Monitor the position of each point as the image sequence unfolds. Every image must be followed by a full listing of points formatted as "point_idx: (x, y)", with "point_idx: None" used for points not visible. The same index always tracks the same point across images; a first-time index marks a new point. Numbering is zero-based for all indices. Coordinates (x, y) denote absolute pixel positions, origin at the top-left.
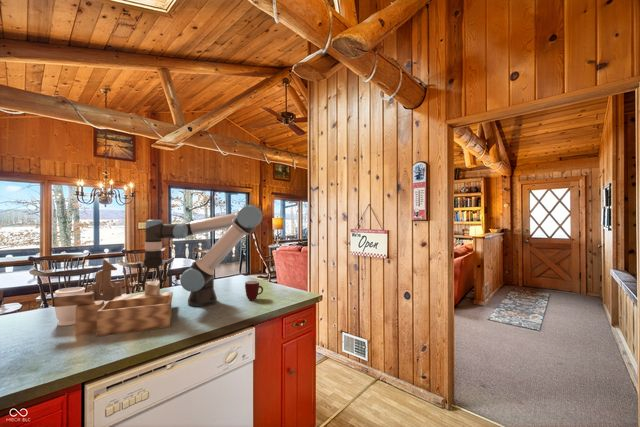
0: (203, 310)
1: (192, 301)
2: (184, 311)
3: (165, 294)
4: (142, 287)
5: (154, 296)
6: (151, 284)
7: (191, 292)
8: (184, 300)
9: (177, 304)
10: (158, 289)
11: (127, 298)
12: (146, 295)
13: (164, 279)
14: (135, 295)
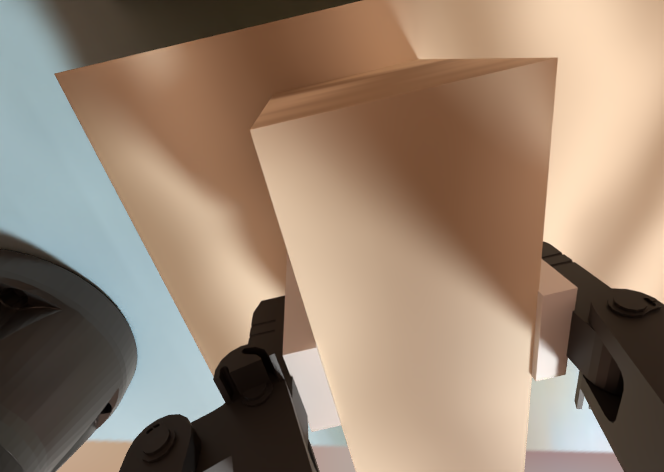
0: None
1: (21, 287)
2: (40, 124)
3: None
4: (568, 258)
5: (304, 88)
6: (434, 268)
7: (13, 388)
8: (200, 397)
9: None
10: None
11: (624, 210)
12: (428, 62)
13: (162, 457)
14: None
